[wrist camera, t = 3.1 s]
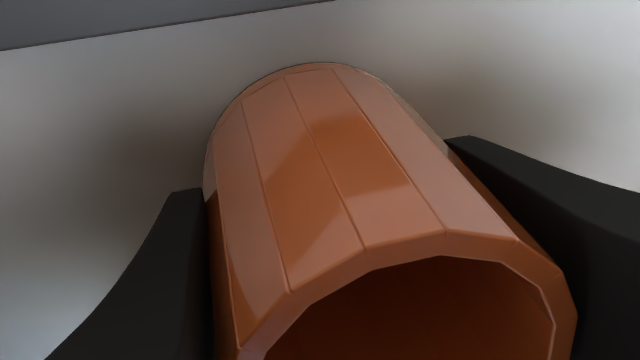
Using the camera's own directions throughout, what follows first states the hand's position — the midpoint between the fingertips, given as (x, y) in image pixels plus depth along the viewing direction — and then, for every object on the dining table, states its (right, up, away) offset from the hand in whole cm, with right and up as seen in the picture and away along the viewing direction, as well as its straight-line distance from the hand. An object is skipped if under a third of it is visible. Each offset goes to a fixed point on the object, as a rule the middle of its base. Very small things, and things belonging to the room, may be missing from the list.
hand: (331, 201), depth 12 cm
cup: (0, +1, +1) cm, 2 cm away
